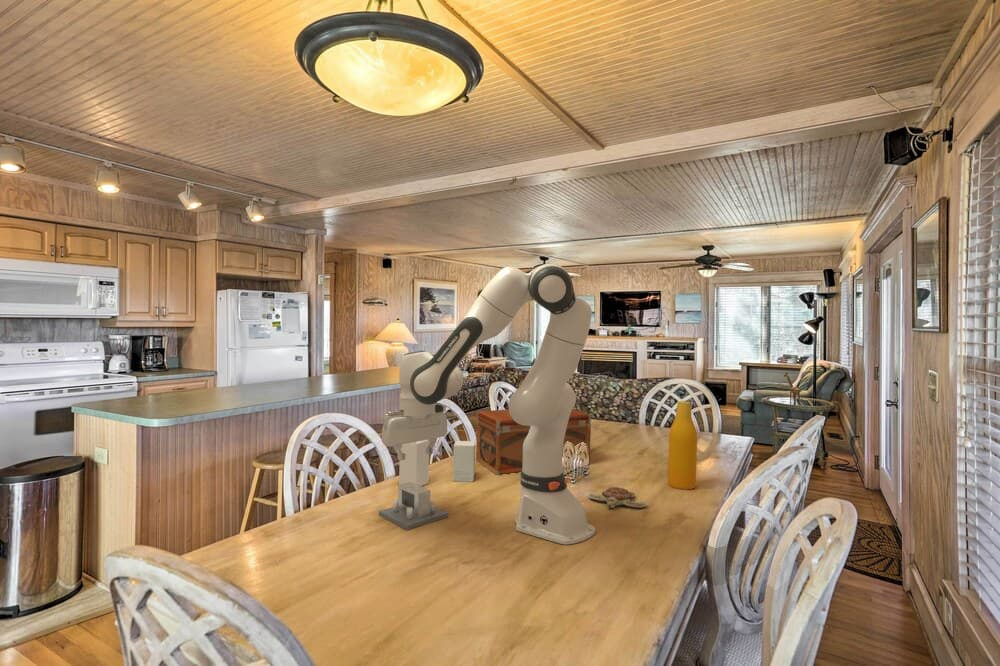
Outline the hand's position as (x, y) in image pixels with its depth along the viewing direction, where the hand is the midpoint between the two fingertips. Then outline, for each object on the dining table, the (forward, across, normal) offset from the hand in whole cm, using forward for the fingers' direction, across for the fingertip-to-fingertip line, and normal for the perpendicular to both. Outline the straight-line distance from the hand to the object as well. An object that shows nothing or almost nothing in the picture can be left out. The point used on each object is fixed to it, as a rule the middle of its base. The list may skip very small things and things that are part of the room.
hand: (415, 456), depth 145 cm
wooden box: (+17, +66, +16) cm, 70 cm away
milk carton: (+17, +16, +24) cm, 33 cm away
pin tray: (+17, 0, +1) cm, 17 cm away
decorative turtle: (+19, +54, -31) cm, 65 cm away
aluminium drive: (+16, 0, +1) cm, 16 cm away
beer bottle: (+19, +85, -37) cm, 94 cm away
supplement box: (+17, +32, +18) cm, 41 cm away
